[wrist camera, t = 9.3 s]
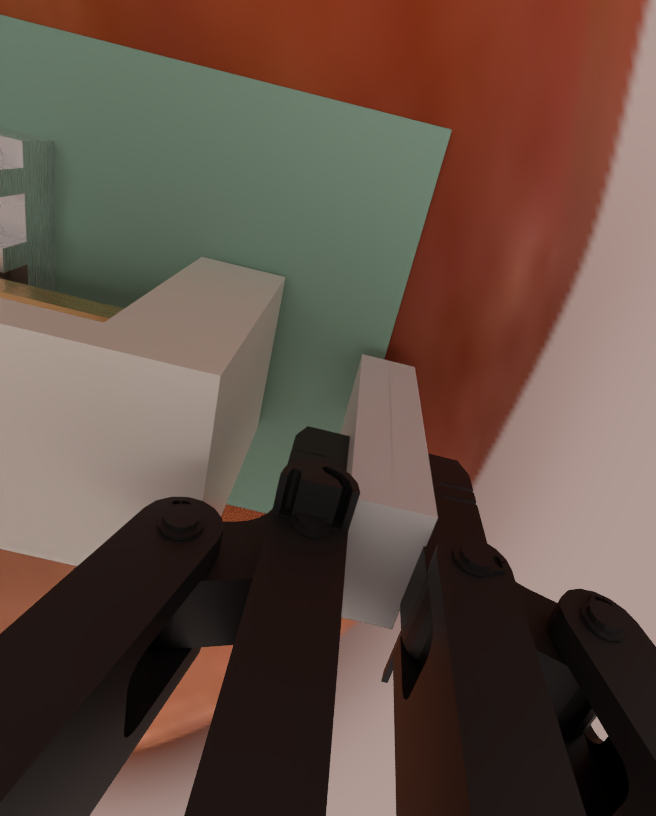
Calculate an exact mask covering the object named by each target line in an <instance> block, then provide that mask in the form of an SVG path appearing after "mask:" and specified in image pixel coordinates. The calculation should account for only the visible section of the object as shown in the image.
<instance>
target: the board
mask: <svg viewBox="0 0 656 816" xmlns="http://www.w3.org/2000/svg"><path fill="white" fill-rule="evenodd" d="M0 128H4V129H8V130H12V131H16V132H20V133H24V134H28V135H32V136H36V137H40V138H44V139H48V140H52V141H54V177H55V241H56V292H58V293H63V294H67V295H71V296H75V297H79V298H83V299H87V300H91V301H95V302H99V303H104V304H108V305H112V306H116V307H120V308H124V309H125V308H126V307H128V306H129V305H131V304H132V303H134V302H135V301H137V300H138V299H140V298H141V297H143V296H144V295H146V294H147V293H149V292H150V291H151V290H153V289H154V288H156V287H157V286H159V285H160V284H162V283H163V282H165V281H166V280H168V279H169V278H171V277H172V276H174V275H175V274H177V273H178V272H180V271H181V270H183V269H184V268H186V267H187V266H189V265H190V264H192V263H193V262H195V261H196V260H198V259H199V258H201V257H206V258H210V259H214V260H218V261H222V262H226V263H230V264H234V265H238V266H243V267H247V268H251V269H255V270H259V271H263V272H267V273H271V274H275V275H279V276H283V277H286V278H285V284H284V289H283V294H282V300H281V305H280V310H279V316H278V321H277V326H276V332H275V337H274V342H273V348H272V353H271V359H270V364H269V369H268V375H267V380H266V385H265V391H264V396H263V401H262V407H261V412H260V417H259V423H258V428H257V430H256V433H255V435H254V438H253V440H252V443H251V445H250V447H249V450H248V452H247V455H246V457H245V460H244V462H243V464H242V467H241V469H240V472H239V474H238V477H237V479H236V481H235V484H234V486H233V489H232V491H231V494H230V496H229V498H228V501H227V503H226V504H228V505H232V506H237V507H241V508H245V509H250V510H254V511H258V512H263V513H268V512H269V511H270V510H271V509H272V508H273V505H274V500H275V496H276V491H277V487H278V482H279V478H280V474H281V472H282V471H283V469H284V468H285V467H286V466H287V464H288V460H289V457H290V453H291V450H292V446H293V443H294V439H295V436H296V434H298V433H299V432H300V431H302V430H303V429H304V428H306V427H307V426H310V427H314V428H318V429H322V430H326V431H330V432H335V433H339V434H340V433H341V429H342V426H343V422H344V418H345V415H346V411H347V407H348V404H349V400H350V397H351V393H352V389H353V386H354V382H355V379H356V375H357V371H358V368H359V364H360V360H361V357H362V354H364V355H368V356H372V357H376V358H380V359H384V358H385V355H386V351H387V348H388V345H389V341H390V338H391V335H392V331H393V328H394V324H395V321H396V318H397V314H398V311H399V307H400V304H401V301H402V297H403V294H404V290H405V287H406V284H407V280H408V277H409V273H410V270H411V267H412V263H413V260H414V257H415V253H416V250H417V246H418V243H419V240H420V236H421V233H422V229H423V226H424V223H425V219H426V216H427V212H428V209H429V206H430V202H431V199H432V195H433V192H434V189H435V185H436V182H437V179H438V175H439V172H440V168H441V165H442V162H443V158H444V155H445V151H446V148H447V145H448V141H449V138H450V134H451V131H452V130H451V129H447V128H443V127H439V126H435V125H431V124H427V123H424V122H420V121H416V120H412V119H408V118H404V117H400V116H396V115H392V114H388V113H384V112H380V111H376V110H373V109H369V108H365V107H361V106H357V105H353V104H349V103H345V102H341V101H337V100H333V99H329V98H325V97H321V96H318V95H314V94H310V93H306V92H302V91H298V90H294V89H290V88H286V87H282V86H278V85H274V84H270V83H267V82H263V81H259V80H255V79H251V78H247V77H243V76H239V75H235V74H231V73H227V72H223V71H219V70H216V69H212V68H208V67H204V66H200V65H196V64H192V63H188V62H184V61H180V60H176V59H172V58H168V57H165V56H161V55H157V54H153V53H149V52H145V51H141V50H137V49H133V48H129V47H125V46H121V45H117V44H113V43H110V42H106V41H102V40H98V39H94V38H90V37H86V36H82V35H78V34H74V33H70V32H66V31H62V30H59V29H55V28H51V27H47V26H43V25H39V24H35V23H31V22H27V21H23V20H19V19H15V18H11V17H8V16H4V15H0Z"/></svg>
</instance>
